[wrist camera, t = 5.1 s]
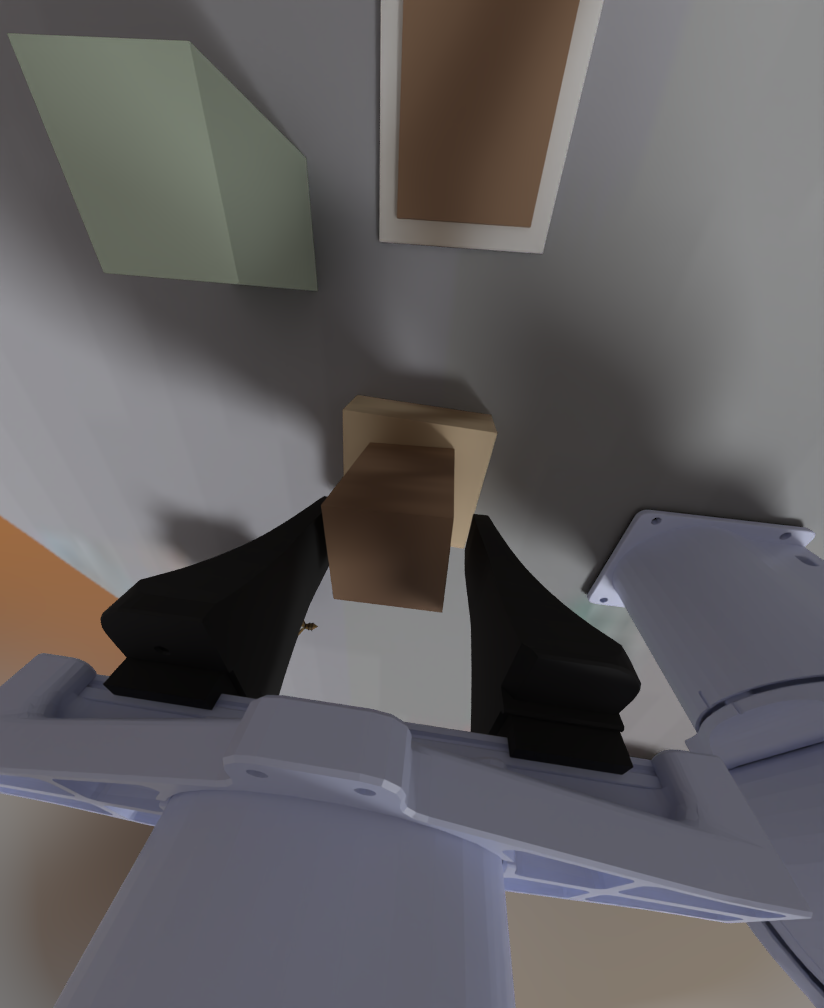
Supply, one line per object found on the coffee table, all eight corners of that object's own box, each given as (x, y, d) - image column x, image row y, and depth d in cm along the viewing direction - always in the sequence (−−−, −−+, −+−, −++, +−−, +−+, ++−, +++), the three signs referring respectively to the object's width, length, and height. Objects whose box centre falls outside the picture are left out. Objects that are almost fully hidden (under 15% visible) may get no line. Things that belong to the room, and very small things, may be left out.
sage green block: (306, 158, 11) (188, 40, 6) (317, 291, 13) (239, 284, 8) (202, 151, 11) (6, 32, 6) (230, 283, 13) (103, 273, 9)
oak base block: (490, 412, 16) (497, 433, 13) (462, 517, 20) (463, 548, 17) (359, 393, 16) (342, 409, 13) (357, 501, 20) (344, 529, 17)
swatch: (614, -50, 8) (621, -65, 8) (541, 254, 12) (543, 252, 11) (382, -56, 8) (380, -70, 8) (380, 242, 12) (378, 240, 12)
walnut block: (454, 448, 14) (454, 518, 9) (446, 521, 16) (442, 612, 11) (370, 442, 14) (320, 505, 9) (372, 513, 16) (333, 598, 11)
